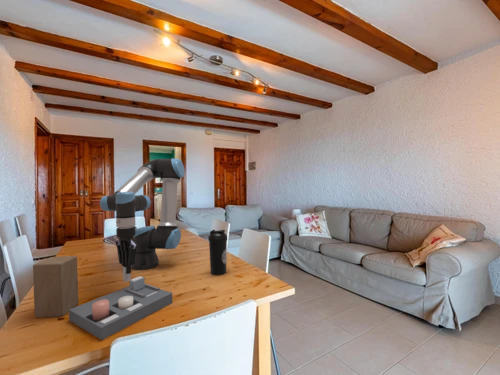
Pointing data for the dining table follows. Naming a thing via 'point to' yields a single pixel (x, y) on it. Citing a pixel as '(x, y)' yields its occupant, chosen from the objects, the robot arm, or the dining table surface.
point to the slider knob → (137, 283)
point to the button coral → (100, 310)
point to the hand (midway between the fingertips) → (127, 280)
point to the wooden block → (55, 286)
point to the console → (143, 306)
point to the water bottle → (218, 252)
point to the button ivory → (125, 302)
